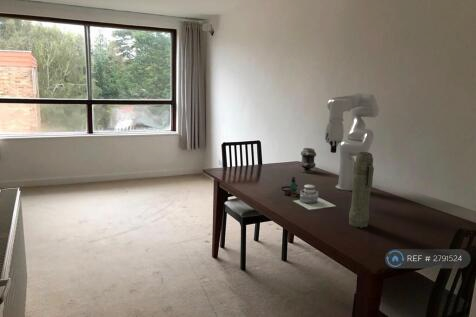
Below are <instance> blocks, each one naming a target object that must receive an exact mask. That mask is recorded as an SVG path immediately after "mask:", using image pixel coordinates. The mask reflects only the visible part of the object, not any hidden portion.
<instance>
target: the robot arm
mask: <svg viewBox="0 0 476 317" xmlns="http://www.w3.org/2000/svg"><path fill="white" fill-rule="evenodd" d="M326 104H327V106H326V107H327V109H328V110H329V118H328V122H327V124H326V127H325V128H326V129H325V133H324V139H325V143H328V144H329V145H330V153H333V154H335V153H337V147H338V145H339V153H340V161H339V170H338V181H337V182H338V184H337V183H336V185H335V188H336V189H338V190H341V191H346V192H347V191H348V192H350V191H352V192H353V190H352V180H353V174H354V163H355V162H356V158H354V157H357V155H358V153H360V152H369V150H370V148H371V146H372V145H373V141H374V131H373V130H372V129H369V128H366V122H365V120H364V118H371V119H372V118H376V117H377V116H379V111H380V110H379V109H380V108H379V104H378V102H377V99H376V97H375V95H374V94H372V93H354V94H351V95H343V96H335V97H332V98H330V99H328V101H327V103H326ZM348 112H351V119H352V124H351V127H349V130H348V132H347V136H346V138H347V139H345V140H344V124H343V122H344V121H345V120H344V118H343V117H344V113H348Z"/></svg>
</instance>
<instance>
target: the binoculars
mask: <svg viewBox="0 0 476 317" xmlns="http://www.w3.org/2000/svg"><path fill="white" fill-rule="evenodd" d="M290 182H291V183H290V186H287V185H285V186H282V187H280V188H281V191H282V192H284V196H292V197H297V194H298V193H297V187H298V186H299V184H297V180H296V177H295V176H292V177H291V181H290Z"/></svg>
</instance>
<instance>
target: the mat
mask: <svg viewBox="0 0 476 317" xmlns="http://www.w3.org/2000/svg"><path fill="white" fill-rule="evenodd" d="M293 203H296V204H297V205H300V206H301V207H304V208H306V209H307V210H308V211H309V210H317V209H324V208H331V207H332V208H333V207H336V205H335V204H333V203H331V202H329V201H327V200H325V199H323V198H320V197H318V202H317V203H316V204H305V203H302V202H300V199H296V200H293Z"/></svg>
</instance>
